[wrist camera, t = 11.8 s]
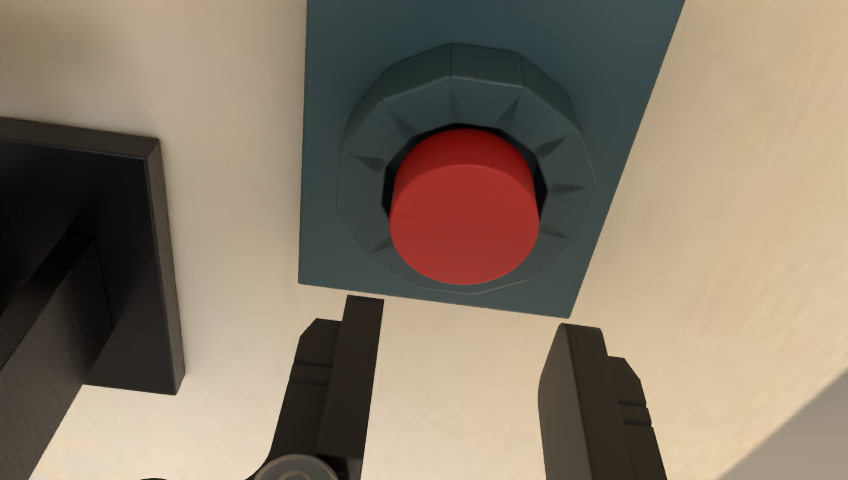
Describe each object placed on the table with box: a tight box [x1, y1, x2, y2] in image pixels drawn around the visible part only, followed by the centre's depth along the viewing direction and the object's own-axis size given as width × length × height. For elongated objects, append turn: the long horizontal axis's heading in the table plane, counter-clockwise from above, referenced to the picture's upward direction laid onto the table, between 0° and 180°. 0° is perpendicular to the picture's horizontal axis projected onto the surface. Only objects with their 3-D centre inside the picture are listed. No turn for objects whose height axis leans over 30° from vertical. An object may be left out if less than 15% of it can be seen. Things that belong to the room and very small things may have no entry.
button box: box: [298, 0, 685, 319], centre depth 19 cm, size 11×9×4 cm
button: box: [389, 129, 539, 285], centre depth 17 cm, size 4×4×2 cm
